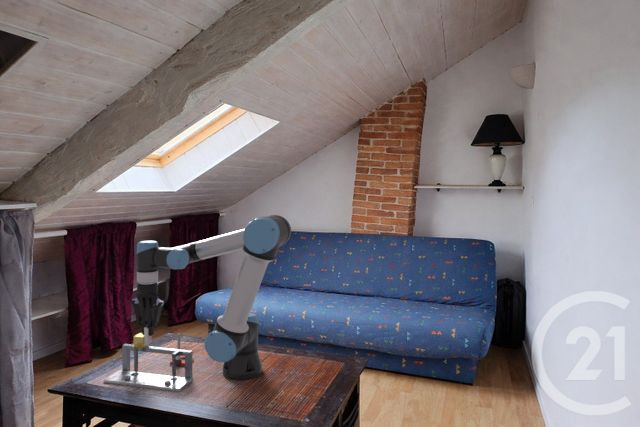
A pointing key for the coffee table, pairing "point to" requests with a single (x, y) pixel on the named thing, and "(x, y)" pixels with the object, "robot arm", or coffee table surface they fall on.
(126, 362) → the dividers beam
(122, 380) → the flange plate
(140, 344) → the slider block
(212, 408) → the coffee table surface
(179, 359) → the tow hook
